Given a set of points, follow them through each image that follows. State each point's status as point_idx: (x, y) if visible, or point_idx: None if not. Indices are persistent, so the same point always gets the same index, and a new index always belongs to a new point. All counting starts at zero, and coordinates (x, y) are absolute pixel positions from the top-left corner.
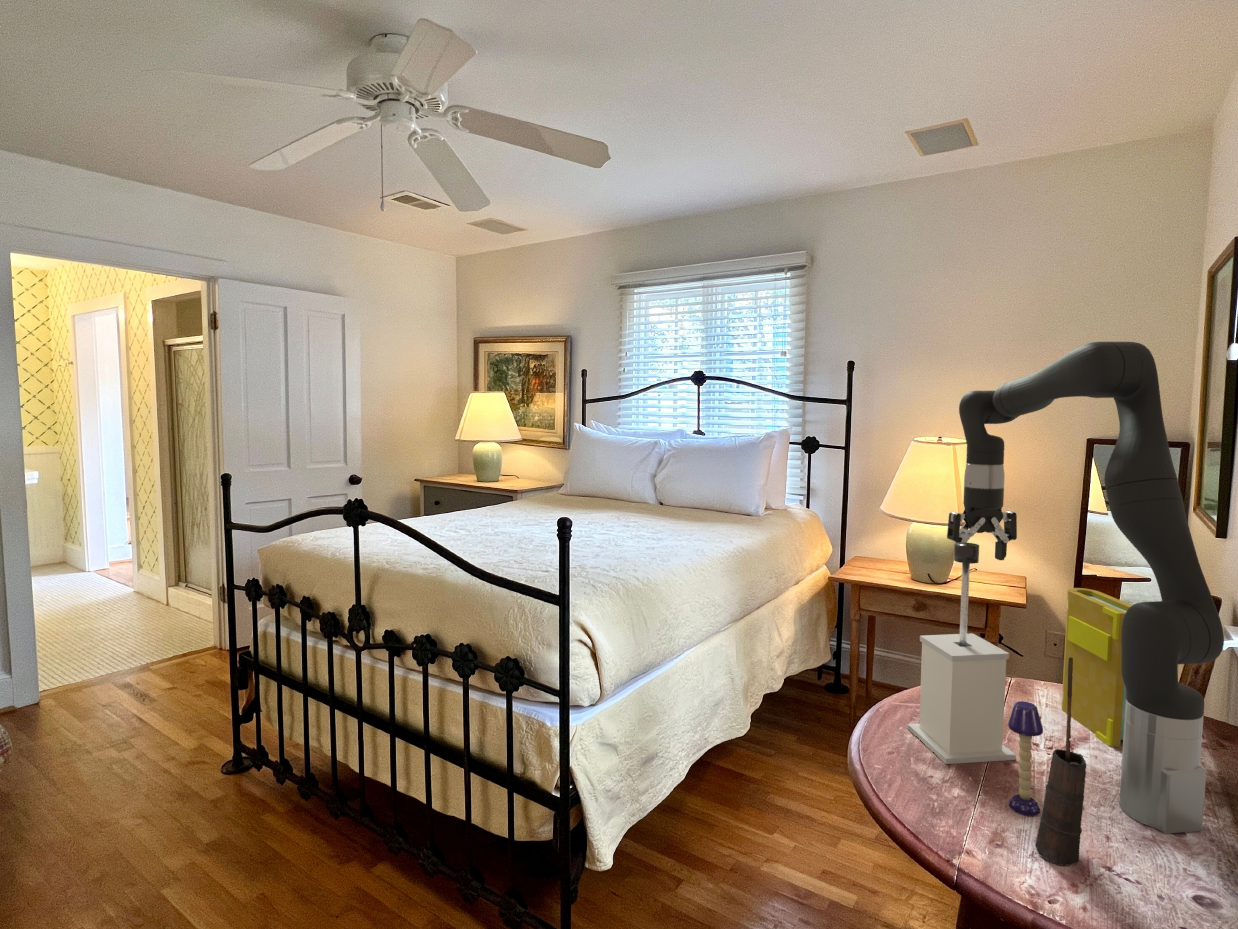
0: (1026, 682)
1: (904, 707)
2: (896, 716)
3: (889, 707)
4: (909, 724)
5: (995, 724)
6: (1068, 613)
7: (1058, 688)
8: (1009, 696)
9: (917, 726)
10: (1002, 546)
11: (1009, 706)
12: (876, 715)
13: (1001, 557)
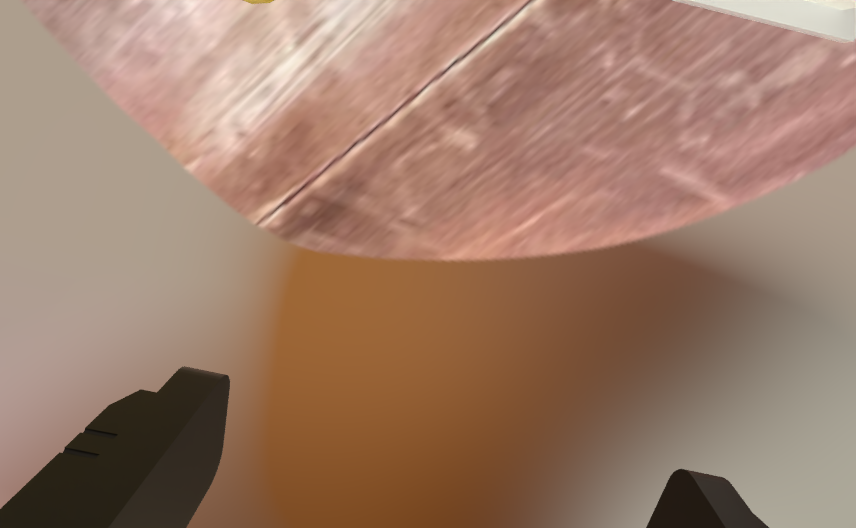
0: (236, 184)
1: (722, 167)
2: (795, 125)
3: (761, 181)
4: (852, 37)
5: None
6: None
7: (174, 116)
8: (368, 122)
9: (842, 17)
10: (111, 505)
11: (427, 64)
12: (841, 151)
13: (212, 388)
